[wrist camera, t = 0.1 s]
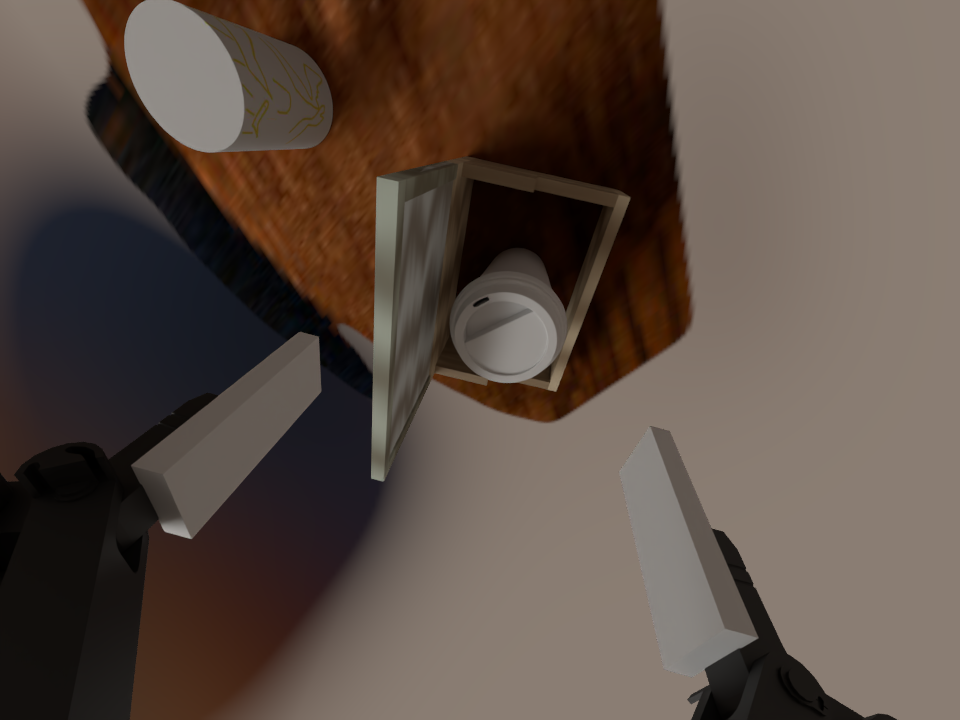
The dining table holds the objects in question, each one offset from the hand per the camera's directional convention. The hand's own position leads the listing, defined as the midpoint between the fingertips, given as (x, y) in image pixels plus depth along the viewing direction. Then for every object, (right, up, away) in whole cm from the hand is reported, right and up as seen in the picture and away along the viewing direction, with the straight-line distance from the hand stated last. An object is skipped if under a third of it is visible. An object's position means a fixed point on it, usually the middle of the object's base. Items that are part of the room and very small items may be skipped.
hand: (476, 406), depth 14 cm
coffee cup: (+4, +11, +26) cm, 28 cm away
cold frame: (+4, +11, +26) cm, 28 cm away
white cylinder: (-18, +27, +20) cm, 38 cm away
